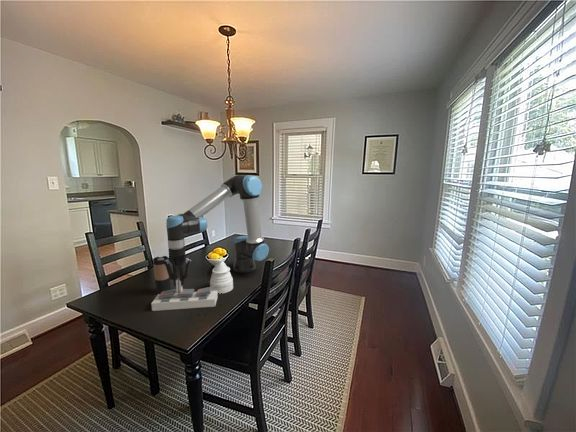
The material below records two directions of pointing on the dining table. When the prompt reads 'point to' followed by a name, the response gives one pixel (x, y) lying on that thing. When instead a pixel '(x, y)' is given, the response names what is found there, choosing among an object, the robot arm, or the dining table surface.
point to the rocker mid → (186, 293)
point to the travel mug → (161, 275)
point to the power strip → (184, 302)
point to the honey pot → (221, 278)
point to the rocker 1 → (167, 294)
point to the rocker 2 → (203, 291)
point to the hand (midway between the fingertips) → (179, 291)
